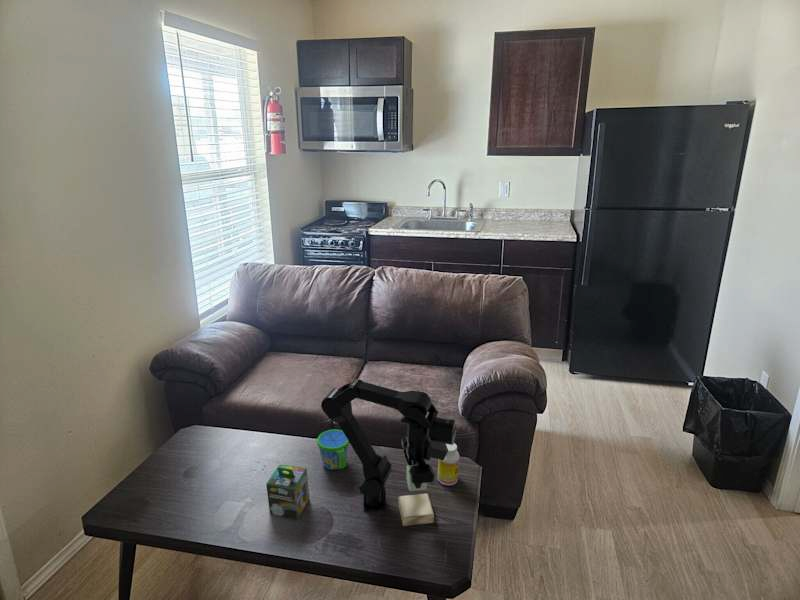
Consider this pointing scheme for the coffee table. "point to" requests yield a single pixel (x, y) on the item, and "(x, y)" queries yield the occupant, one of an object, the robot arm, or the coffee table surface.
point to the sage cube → (411, 485)
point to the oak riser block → (415, 509)
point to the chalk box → (288, 491)
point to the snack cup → (333, 448)
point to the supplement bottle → (449, 466)
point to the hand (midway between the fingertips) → (416, 481)
